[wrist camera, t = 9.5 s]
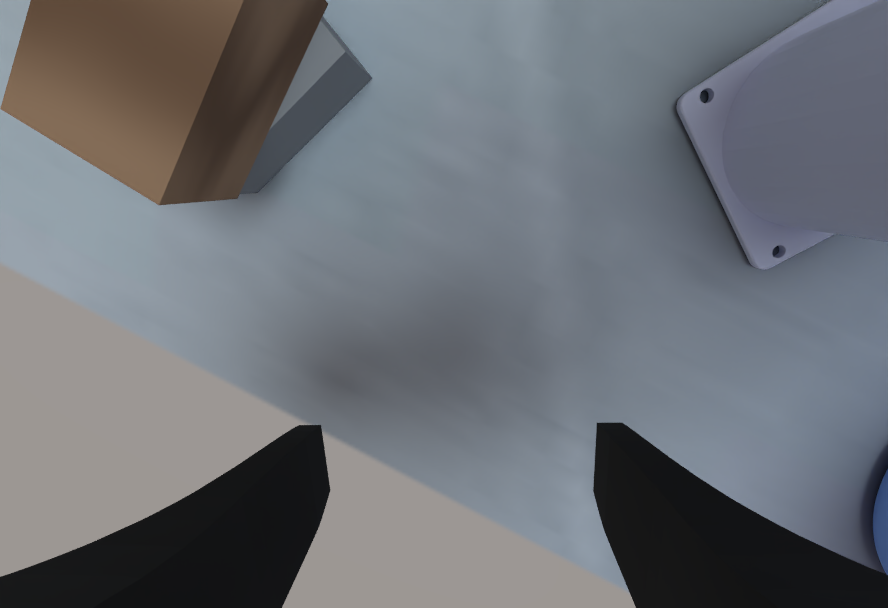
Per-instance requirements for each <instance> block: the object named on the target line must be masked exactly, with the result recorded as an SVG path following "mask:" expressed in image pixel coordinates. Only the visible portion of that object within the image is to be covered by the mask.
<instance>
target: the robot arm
mask: <svg viewBox="0 0 888 608" xmlns="http://www.w3.org/2000/svg"><path fill="white" fill-rule="evenodd" d="M703 90H705V91H707V92H708V94H709V98H708V101H707V102H706V103H702V101H701V100H700V93H701V92H702V91H703ZM677 112H678V114H679V116H680V119H681V121H682V123H683V125H684V127H685V129H686V131H687V133H688V135H689V137H690V139H691V141H692V144H693V146H694V148H695V150H696V152H697V154H698V156H699V158H700V160H701V162H702V164H703V166H704V169H705V171H706V173H707V175H708V177H709V179H710V181H711V183H712V185H713V187H714V189H715V191H716V194H717V196H718V198H719V200H720V202H721V204H722V206H723V208H724V210H725V212H726V214H727V216H728V219H729V221H730V223H731V225H732V227H733V229H734V231H735V233H736V235H737V237H738V239H739V241H740V244H741V246H742V248H743V250H744V252H745V254H746V256H747V258H748V260H749V262H750V264H751V265H752V266H753V267H755V268H758V269H762V270H766V269H769V268H772V267H774V266H776V265H777V264H779V263H781V262H783V261H785V260H787V259H789V258H791V257H793V256H794V255H796V254H798V253H800V252H802V251H804V250H806V249H808V248H810V247H812V246H813V245H815V244H817V243H819V242H821V241H823V240H825V239H827V238H829V237H831V236H832V235H834V234H839V235H846V236H852V237H859V238H866V239H872V240H879V241H885V242H888V0H830V1H829V2H827V3H826V4H824V5H823V6H821V7H819V8H818V9H816V10H815V11H813V12H812V13H810V14H808V15H807V16H805V17H804V18H802V19H801V20H799V21H797V22H796V23H794V24H793V25H791V26H790V27H788V28H786V29H785V30H783V31H782V32H780V33H779V34H777V35H775V36H774V37H772V38H771V39H769V40H768V41H766V42H764V43H763V44H761V45H760V46H758V47H757V48H755V49H753V50H752V51H750V52H749V53H747V54H745V55H744V56H742V57H741V58H739V59H738V60H736V61H734V62H733V63H731V64H730V65H728V66H727V67H725V68H723V69H722V70H720V71H719V72H717V73H716V74H714V75H712V76H711V77H709V78H708V79H706V80H705V81H703V82H701V83H700V84H698V85H697V86H695V87H694V88H692V89H690V90H689V91H687V92H686V93H684V94H683V95H682V96H681V97H680V98H679V100H678V102H677ZM776 246H779V252H778V253H777V254H776V255H775V256H773V255H772V251H773V249H774V248H775V247H776ZM593 491H594V495H595V499H596V503H597V507H598V510H599V514H600V517H601V521H602V524H603V528H604V531H605V533H606V536H607V538H608V541H609V543H610V546H611V548H612V551H613V553H614V556H615V558H616V561H617V563H618V565H619V568H620V570H621V573H622V575H623V577H624V580H625V582H626V585H627V587H628V589H629V592H630V594H631V597H632V599H633V601H634V604H635V606H636V608H888V575H886V574H883V573H881V572H879V571H876V570H874V569H871V568H869V567H866V566H864V565H862V564H860V563H857V562H855V561H853V560H850V559H848V558H846V557H844V556H841V555H839V554H837V553H835V552H833V551H830V550H828V549H826V548H824V547H822V546H820V545H818V544H816V543H814V542H811V541H809V540H807V539H805V538H803V537H801V536H799V535H797V534H795V533H793V532H791V531H789V530H787V529H785V528H783V527H781V526H779V525H777V524H775V523H774V522H772V521H770V520H768V519H766V518H765V517H763V516H761V515H759V514H757V513H756V512H754V511H752V510H750V509H748V508H746V507H745V506H743V505H741V504H740V503H738V502H736V501H734V500H733V499H731V498H729V497H728V496H726V495H725V494H723V493H722V492H720V491H718V490H717V489H715V488H714V487H712V486H711V485H709V484H707V483H706V482H704V481H703V480H701V479H700V478H698V477H697V476H695V475H694V474H692V473H691V472H689V471H688V470H687V469H685V468H684V467H682V466H681V465H679V464H678V463H677V462H675V461H674V460H672V459H671V458H670V457H668V456H667V455H666V454H664V453H663V452H661V451H660V450H659V449H657V448H656V447H655V446H653V445H652V444H651V443H649V442H648V441H647V440H645V439H644V438H643V437H641V436H640V435H639V434H637V433H636V432H635V431H633V430H632V429H630V428H629V427H628V426H626V425H625V424H623V423H597V433H596V452H595V471H594V490H593ZM329 492H330V485H329V478H328V471H327V465H326V457H325V450H324V443H323V436H322V429H321V425H299V426H297V427H295V428H293V429H291V430H290V431H288V432H287V433H285V434H284V435H282V436H280V437H279V438H277V439H276V440H275V441H273V442H271V443H270V444H268V445H267V446H266V447H264V448H263V449H261V450H260V451H258V452H257V453H255V454H254V455H252V456H251V457H249V458H248V459H246V460H245V461H243V462H242V463H240V464H239V465H237V466H236V467H234V468H233V469H231V470H229V471H228V472H226V473H225V474H223V475H221V476H220V477H218V478H216V479H215V480H214V481H212V482H210V483H208V484H207V485H205V486H204V487H202V488H200V489H199V490H197V491H195V492H194V493H192V494H190V495H189V496H187V497H185V498H183V499H181V500H180V501H178V502H176V503H174V504H172V505H170V506H168V507H166V508H164V509H162V510H160V511H159V512H157V513H155V514H153V515H151V516H149V517H147V518H145V519H143V520H141V521H138V522H136V523H134V524H132V525H130V526H128V527H125V528H123V529H121V530H119V531H116V532H114V533H112V534H110V535H108V536H105V537H103V538H101V539H99V540H97V541H94V542H92V543H90V544H87V545H85V546H83V547H80V548H77V549H75V550H72V551H70V552H68V553H65V554H62V555H60V556H57V557H55V558H52V559H50V560H47V561H44V562H41V563H39V564H36V565H34V566H31V567H28V568H25V569H22V570H19V571H17V572H14V573H11V574H8V575H5V576H2V577H0V608H282V606H283V604H284V602H285V599H286V597H287V595H288V593H289V591H290V589H291V587H292V584H293V582H294V580H295V578H296V576H297V574H298V572H299V569H300V567H301V565H302V563H303V561H304V559H305V556H306V554H307V552H308V550H309V548H310V545H311V543H312V541H313V539H314V537H315V534H316V532H317V530H318V527H319V525H320V521H321V519H322V515H323V513H324V509H325V506H326V503H327V499H328V496H329Z"/></svg>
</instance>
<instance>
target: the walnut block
mask: <svg viewBox="0 0 888 608" xmlns="http://www.w3.org/2000/svg"><path fill="white" fill-rule="evenodd" d="M327 5H328V3H327V2H326V1H325V0H31V2H30V6H29V9H28V13H27V16H26V20H25V23H24V27H23V31H22V34H21V38H20V41H19V45H18V48H17V52H16V55H15V59H14V63H13V66H12V70H11V73H10V77H9V80H8V84H7V87H6V91H5V95H4V98H3V102H2V105H1V110H3V111H5V112H6V113H8V114H10V115H11V116H13V117H15V118H16V119H18V120H20V121H21V122H23V123H24V124H26V125H28V126H29V127H31V128H33V129H34V130H36V131H38V132H39V133H41V134H43V135H44V136H46V137H48V138H49V139H51V140H52V141H54V142H56V143H57V144H59V145H61V146H62V147H64V148H66V149H67V150H69V151H71V152H72V153H74V154H76V155H77V156H79V157H81V158H82V159H84V160H85V161H87V162H89V163H90V164H92V165H94V166H95V167H97V168H99V169H100V170H102V171H104V172H105V173H107V174H109V175H110V176H112V177H113V178H115V179H117V180H118V181H120V182H122V183H123V184H125V185H127V186H128V187H130V188H132V189H133V190H135V191H137V192H138V193H140V194H141V195H143V196H145V197H146V198H148V199H150V200H151V201H153V202H155V203H156V204H158V205H167V204H179V203H191V202H203V201H215V200H227V199H237V198H238V196H239V194H240V192H241V190H242V187H243V185H244V183H245V181H246V179H247V177H248V175H249V173H250V170H251V168H252V166H253V164H254V162H255V160H256V158H257V155H258V153H259V151H260V149H261V147H262V145H263V143H264V140H265V138H266V136H267V134H268V132H269V130H270V127H271V125H272V123H273V121H274V119H275V117H276V115H277V113H278V110H279V108H280V106H281V104H282V102H283V100H284V98H285V95H286V93H287V91H288V89H289V87H290V85H291V83H292V80H293V78H294V76H295V74H296V72H297V70H298V68H299V65H300V63H301V61H302V59H303V57H304V55H305V53H306V50H307V48H308V46H309V44H310V42H311V40H312V38H313V35H314V33H315V31H316V29H317V27H318V25H319V23H320V20H321V18H322V16H323V14H324V12H325V10H326V8H327Z"/></svg>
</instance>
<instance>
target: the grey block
mask: <svg viewBox="0 0 888 608" xmlns="http://www.w3.org/2000/svg"><path fill="white" fill-rule="evenodd" d="M371 79H372V77H371V76H370V75H369V73H368V72H367V71H366V70H365V68H364V67H363V66H362V65H361V63H360V62H359V61H358V60H357V58H356V57H355V56H354V55H353V53H352V52H351V51H350V50H349V48H348V47H347V46H346V45H345V43H344V42H343V41H342V40H341V38H340V37H339V36H338V35H337V33H336V32H335V31H334V30H333V28H332V27H331V26H330V25H329V23H328V22H327V21H326V20H325V18H324V17H323V16H322V18H321V20H320V23H319V25H318V27H317V29H316V31H315V33H314V35H313V38H312V40H311V42H310V44H309V46H308V48H307V50H306V53H305V55H304V57H303V59H302V61H301V63H300V65H299V68H298V70H297V72H296V74H295V76H294V78H293V80H292V83H291V85H290V87H289V89H288V91H287V93H286V95H285V98H284V100H283V102H282V104H281V106H280V108H279V110H278V113H277V115H276V117H275V119H274V121H273V123H272V125H271V127H270V130H269V132H268V134H267V136H266V138H265V140H264V143H263V145H262V147H261V149H260V151H259V153H258V155H257V158H256V160H255V162H254V164H253V166H252V168H251V170H250V173H249V175H248V177H247V179H246V181H245V183H244V185H243V187H242V190H241V192H240V194H246V193H257V192H258V191H259V190H260V189H261V188H262V187H263V186H265V185H266V184H267V183H268V182H269V181H270V180H271V179H272V178H273V177H274V176H275V175H276V174H277V173H278V172H279V171H280V170H281V169H282V168H283V167H284V166H285V165H286V164H287V163H288V162H289V161H290V160H291V159H292V158H293V157H294V156H295V155H296V154H297V153H298V152H299V151H300V150H301V149H302V148H303V147H304V146H305V145H306V144H307V143H308V142H309V141H310V140H311V139H312V138H313V137H314V136H315V135H316V134H317V133H318V132H319V131H320V130H321V129H322V128H323V127H324V126H325V125H326V124H327V123H328V122H329V121H330V120H331V119H332V118H333V117H334V116H335V115H336V114H337V113H338V112H339V111H340V110H341V109H342V108H343V107H344V106H345V105H346V104H347V103H348V102H349V101H350V100H351V99H352V98H353V97H354V96H355V95H356V94H357V93H358V92H359V91H360V90H361V89H362V88H363V87H364V86H365V85H366V84H367V83H368V82H369V81H370V80H371Z"/></svg>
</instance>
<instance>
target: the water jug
mask: <svg viewBox="0 0 888 608" xmlns="http://www.w3.org/2000/svg"><path fill="white" fill-rule="evenodd" d="M873 535H874V542H875V547H876V551H877V554H878V557H879V560H880V562H881V564H882V567H883V569H884V571H885V573H886V574H887V575H888V469H887V471H886V473H885V475H884V477H883V480H882V482H881V485H880V487H879V490H878V493H877V497H876V501H875V506H874V513H873Z"/></svg>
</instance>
